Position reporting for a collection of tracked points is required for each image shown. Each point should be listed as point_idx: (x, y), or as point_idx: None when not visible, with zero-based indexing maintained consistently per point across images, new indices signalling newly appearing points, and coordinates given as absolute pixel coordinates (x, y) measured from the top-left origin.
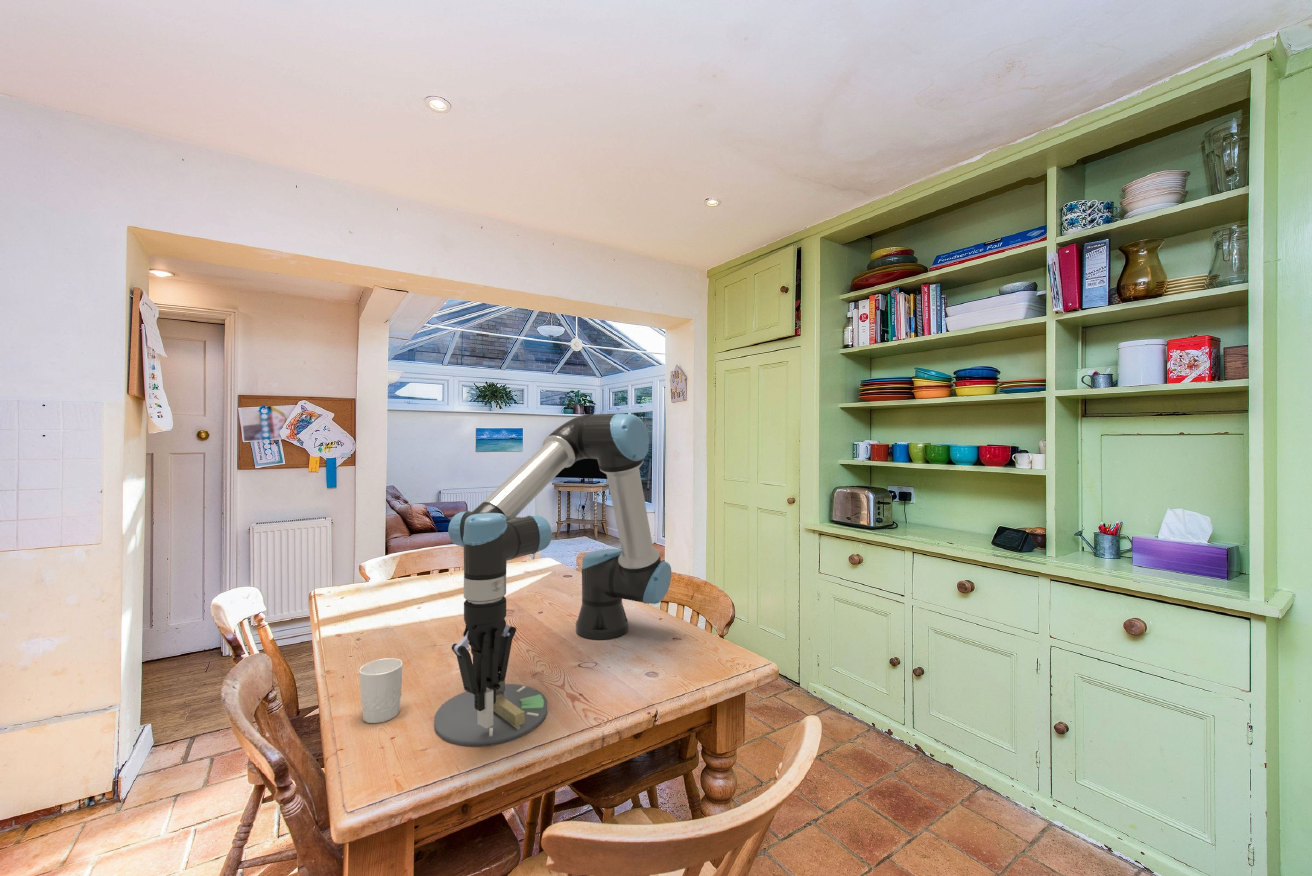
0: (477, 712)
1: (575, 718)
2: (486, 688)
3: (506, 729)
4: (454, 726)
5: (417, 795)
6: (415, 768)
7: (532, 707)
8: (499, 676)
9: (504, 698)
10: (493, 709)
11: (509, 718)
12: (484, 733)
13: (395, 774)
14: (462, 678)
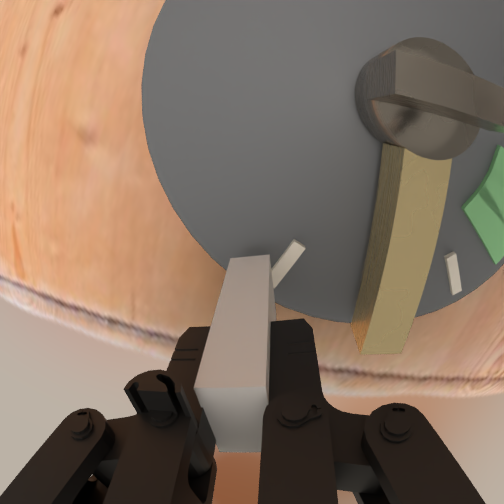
0: (222, 285)
1: (491, 331)
2: (255, 420)
3: (337, 285)
4: (199, 100)
5: (45, 316)
6: (48, 219)
7: (484, 237)
8: (358, 492)
9: (445, 189)
10: (384, 150)
11: (364, 296)
12: (264, 246)
13: (14, 208)
14: (15, 489)
